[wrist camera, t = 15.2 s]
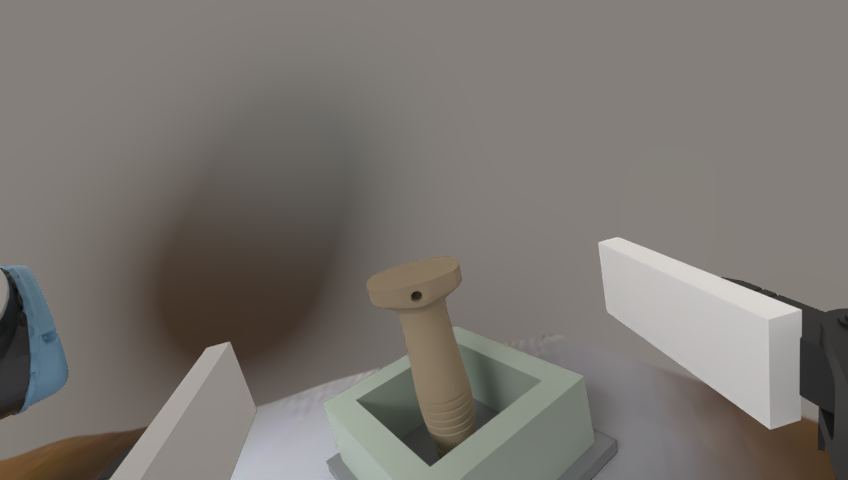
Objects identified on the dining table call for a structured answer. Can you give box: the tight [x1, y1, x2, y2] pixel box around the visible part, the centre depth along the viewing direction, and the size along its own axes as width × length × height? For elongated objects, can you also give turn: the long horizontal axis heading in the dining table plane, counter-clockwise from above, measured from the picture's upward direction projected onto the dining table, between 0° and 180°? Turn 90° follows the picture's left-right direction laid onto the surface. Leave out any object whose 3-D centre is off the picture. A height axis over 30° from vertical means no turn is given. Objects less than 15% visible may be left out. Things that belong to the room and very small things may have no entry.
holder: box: [323, 326, 617, 480], centre depth 32 cm, size 16×16×6 cm
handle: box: [366, 256, 477, 459], centre depth 31 cm, size 5×6×15 cm
